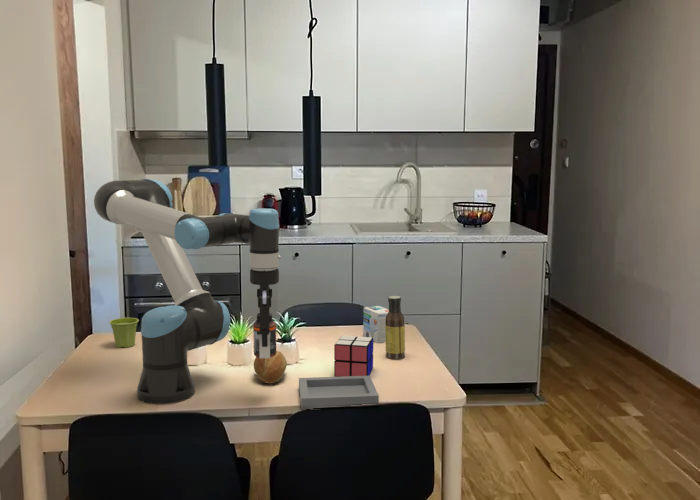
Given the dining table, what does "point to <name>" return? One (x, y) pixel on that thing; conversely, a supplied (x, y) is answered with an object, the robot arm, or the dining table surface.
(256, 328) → the supplement bottle
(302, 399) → the tray
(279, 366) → the bread roll
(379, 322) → the light bulb box
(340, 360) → the puzzle cube
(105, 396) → the dining table surface
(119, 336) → the plant pot
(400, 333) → the sauce bottle
